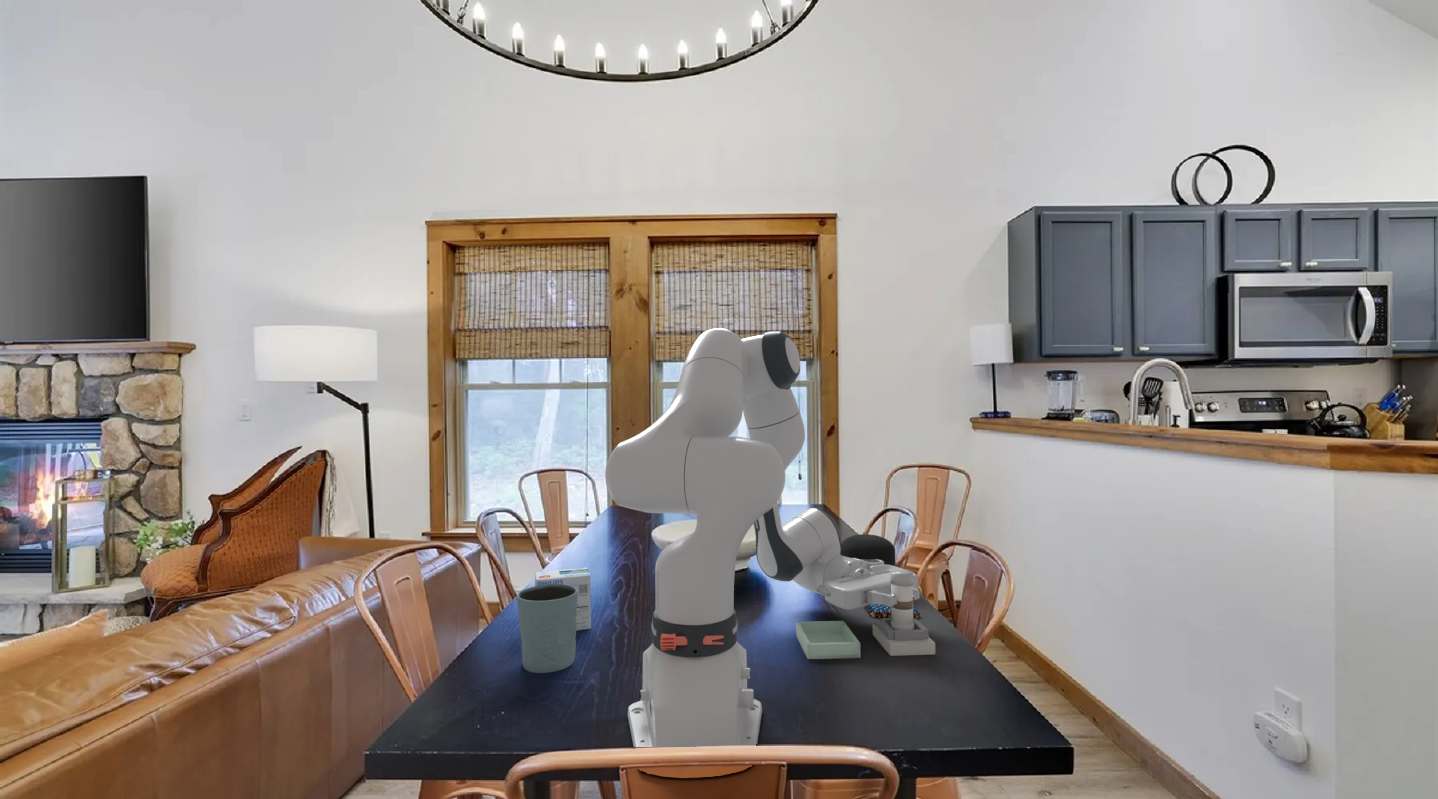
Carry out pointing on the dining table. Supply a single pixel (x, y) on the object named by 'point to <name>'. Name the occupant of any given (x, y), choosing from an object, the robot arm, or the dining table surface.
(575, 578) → the light bulb box
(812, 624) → the tray
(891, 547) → the oil filter
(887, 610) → the woven mat
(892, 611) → the cylinder
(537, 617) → the green cup
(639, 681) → the dining table surface
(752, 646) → the dining table surface
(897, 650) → the block
